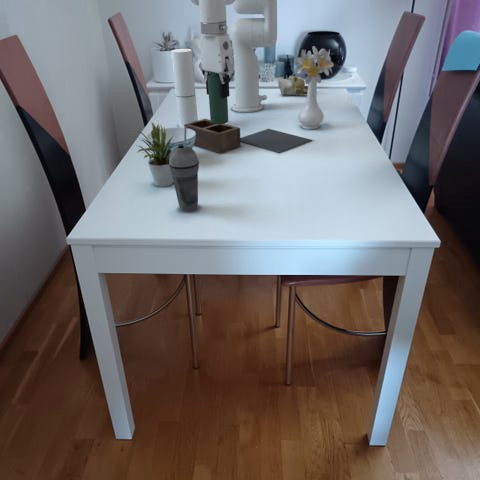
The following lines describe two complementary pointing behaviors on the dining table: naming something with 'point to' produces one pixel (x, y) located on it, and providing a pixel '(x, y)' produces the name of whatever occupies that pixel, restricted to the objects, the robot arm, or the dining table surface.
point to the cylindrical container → (184, 86)
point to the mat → (274, 140)
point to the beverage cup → (185, 176)
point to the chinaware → (176, 138)
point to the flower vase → (313, 84)
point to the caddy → (215, 135)
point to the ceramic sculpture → (292, 85)
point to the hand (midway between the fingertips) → (218, 94)
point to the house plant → (159, 156)
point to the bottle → (217, 100)
